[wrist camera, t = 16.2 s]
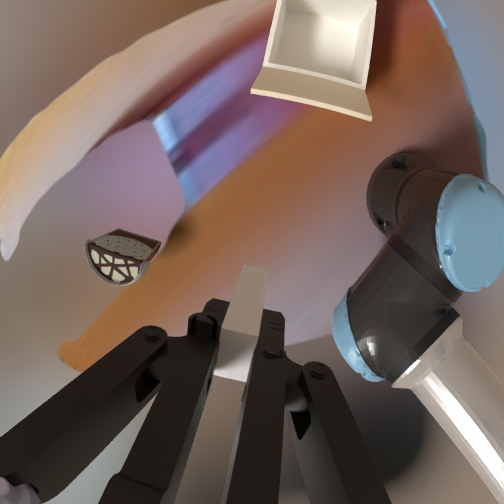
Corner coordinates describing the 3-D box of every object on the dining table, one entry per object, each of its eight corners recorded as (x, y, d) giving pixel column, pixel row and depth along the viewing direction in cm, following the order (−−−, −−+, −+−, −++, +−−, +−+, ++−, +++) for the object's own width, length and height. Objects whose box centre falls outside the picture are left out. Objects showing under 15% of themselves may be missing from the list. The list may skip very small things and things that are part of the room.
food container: (110, 255, 53) (81, 275, 44) (112, 226, 51) (81, 243, 41) (164, 273, 53) (141, 299, 43) (168, 244, 51) (144, 265, 41)
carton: (360, 26, 33) (376, 1, 24) (348, 102, 39) (365, 90, 30) (283, 8, 34) (282, -21, 25) (267, 83, 39) (262, 66, 30)
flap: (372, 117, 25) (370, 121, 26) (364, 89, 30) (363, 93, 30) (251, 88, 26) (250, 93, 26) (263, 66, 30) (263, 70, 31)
